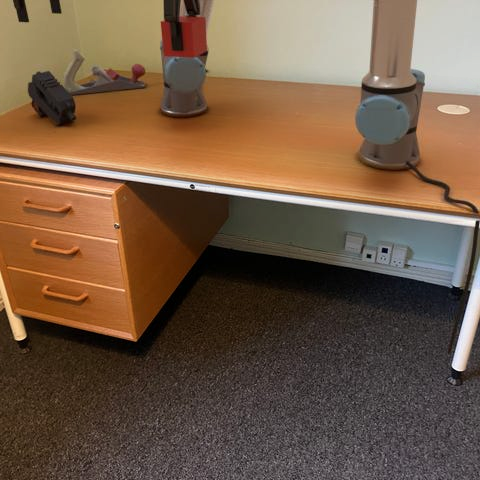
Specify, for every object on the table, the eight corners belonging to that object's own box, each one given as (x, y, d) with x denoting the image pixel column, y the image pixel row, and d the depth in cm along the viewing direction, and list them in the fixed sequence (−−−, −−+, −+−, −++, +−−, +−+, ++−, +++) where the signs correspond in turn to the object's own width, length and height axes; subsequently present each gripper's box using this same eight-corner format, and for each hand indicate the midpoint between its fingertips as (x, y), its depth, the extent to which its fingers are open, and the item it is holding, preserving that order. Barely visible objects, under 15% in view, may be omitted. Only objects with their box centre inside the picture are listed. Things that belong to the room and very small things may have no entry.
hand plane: (62, 90, 197) (53, 48, 189) (145, 82, 205) (140, 41, 197) (62, 96, 191) (54, 53, 184) (148, 87, 199) (143, 45, 191)
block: (177, 49, 138) (175, 16, 134) (207, 50, 135) (205, 17, 131) (163, 56, 131) (160, 21, 127) (194, 58, 129) (191, 22, 125)
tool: (41, 101, 176) (45, 64, 165) (76, 140, 172) (84, 104, 161) (24, 106, 172) (28, 69, 162) (60, 145, 168) (67, 110, 157)
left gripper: (42, -76, 142) (58, 9, 153) (-28, -73, 122) (-4, 25, 134) (65, -77, 140) (80, 10, 151) (-2, -73, 120) (21, 26, 131)
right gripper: (182, -61, 130) (189, 37, 142) (139, -55, 113) (152, 55, 125) (210, -61, 128) (215, 38, 139) (171, -56, 111) (180, 57, 123)
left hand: (41, 17), depth 142 cm, fingers open, 13 cm apart
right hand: (185, 46), depth 132 cm, fingers closed on block, 8 cm apart
